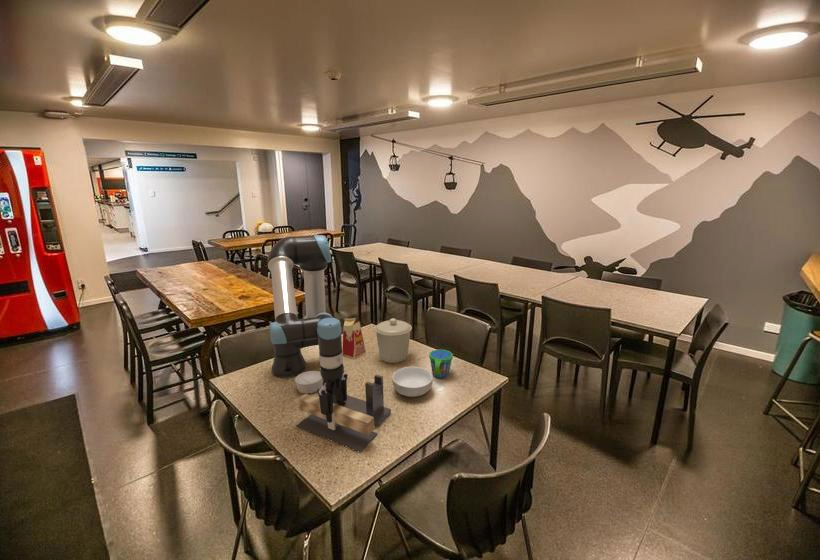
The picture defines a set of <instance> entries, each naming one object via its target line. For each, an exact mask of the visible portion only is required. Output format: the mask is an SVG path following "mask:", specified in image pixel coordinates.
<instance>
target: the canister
mask: <svg viewBox="0 0 820 560" xmlns="http://www.w3.org/2000/svg"><path fill="white" fill-rule="evenodd" d="M412 329H413V327H412V325H411V324H410V323H408V322H406V321H404V320H398V319H396V318H394V317H393V318H390V319H388V320H385V321H382V322H380V323H378V324H376V325H375V326H374V332H375V333H376V341H377V346H378V353H379V356H380V359H381V360H382V361H383V362H385V363H388V364H399V363H401V362H404V361H405V360H406V359H407V358H408V354H409V348H410V347H409V346H410V338H411V337H410V336H411V331H412Z"/></svg>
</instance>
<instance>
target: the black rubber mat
mask: <svg viewBox="0 0 820 560" xmlns="http://www.w3.org/2000/svg"><path fill="white" fill-rule="evenodd" d="M295 427H296V428H297V427H298V428H297V429H300V428H301V429H300V430H302V429H304V430H303V431H305V430H306V431H305V432H307V431H309V432H308V433H310V432H311V433H310V434H312V433H313V435H315V434H316V435H315V436H317V435H318V436H317V437H320V436H321V437H320V438H322V437H324V438H323V439H325V438H326V439H325V440H327V439H329V440H328V441H330V440H332V441H334V442H333V443H335V442H337V443H339V444H338V445H340V444H341V445H340V446H342V445H344V446H343V447H345V446H347V447H349V448H348V449H350V448H351V449H350V450H352V449H354V450H353V451H355V450H356V451H355V452H357V451H359V452H358V453H360V452H361V451H362V450H363V449H364V448H365V449H366V448H367V446H368V445H369V444H370V443H372V441H373V440H374V439H375V438H376V437H377V436H378V433H377V432H376V431H374V430H373V431H372V432H371V433H370V434H369V435H366V434H364V433H361V432H358V431H356V430H353V429H350V428H347V427H345V426H342V425H339V424H336V423H335V430H332V429H329V428H328V422H327V420H326V419H323V418H320V417H317V416H315V415H312V414H308V416H307V417H305V418H304V419H303V420H302V421H300V422H299V423H298V424H296V425H295ZM332 441H331V442H332ZM337 443H336V444H337ZM347 447H346V448H347ZM365 449H364V450H365ZM364 450H363V451H364ZM363 451H362V452H363ZM362 452H361V453H362Z"/></svg>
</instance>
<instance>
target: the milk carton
mask: <svg viewBox="0 0 820 560" xmlns="http://www.w3.org/2000/svg"><path fill="white" fill-rule="evenodd" d="M343 320H344V322H343V323H344V324H343V329H342V357H346V358H350V359H352V360H355V359H357V358H359V357H361V356H362V355H364V354H367V350H366V345H365V339H364V336H363V331H362V327H361V323H360V320H357V318H356V317H353V318H344V319H343Z"/></svg>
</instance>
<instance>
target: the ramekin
mask: <svg viewBox="0 0 820 560" xmlns="http://www.w3.org/2000/svg"><path fill="white" fill-rule="evenodd" d="M294 382H295V384H296V387H297V390H298V392H299V393H301V394H304V393H305V394H307V395H309V393H310V394H313V393H317V390H318V389H321V388H322V386H323V378H322V377H321V371H318V370H317V371H316V370H309V371H303V372H302V373H300V374H298V375H296V377H295V378H294ZM305 394H304V395H305Z"/></svg>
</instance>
